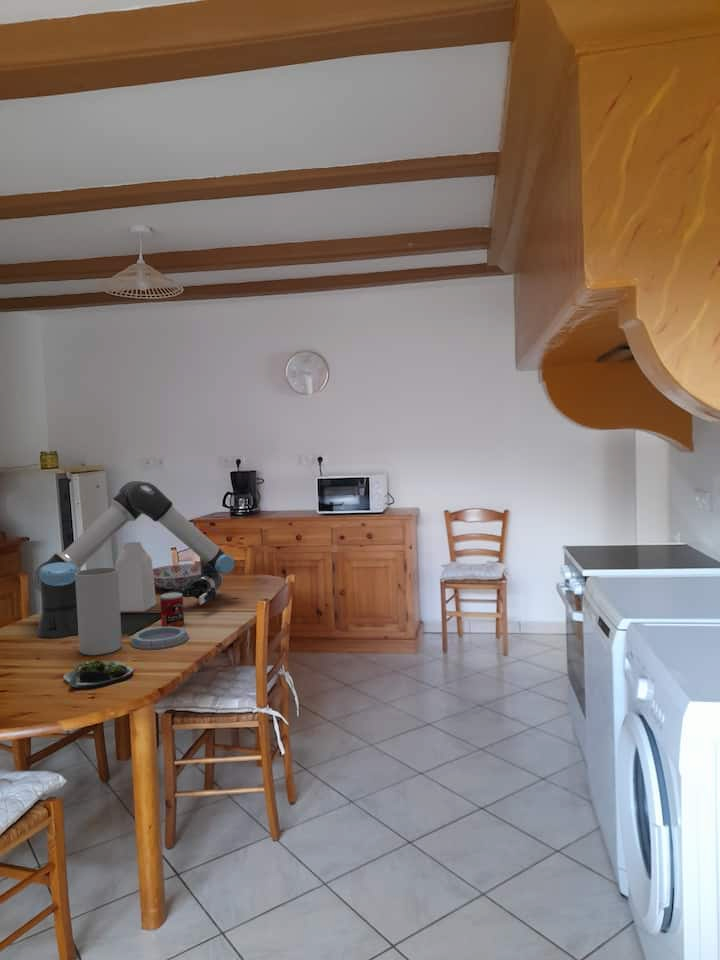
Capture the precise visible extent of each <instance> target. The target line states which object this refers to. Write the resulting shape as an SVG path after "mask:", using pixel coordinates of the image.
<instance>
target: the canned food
mask: <svg viewBox="0 0 720 960" xmlns="http://www.w3.org/2000/svg"><path fill="white" fill-rule="evenodd" d="M160 616H161V617H160V618H161V627H180V628H182V627H183V626H184V624H185V616H184V597H183V594H182V593H166V594H164V593H163V594H160Z"/></svg>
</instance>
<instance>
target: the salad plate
mask: <svg viewBox="0 0 720 960" xmlns="http://www.w3.org/2000/svg"><path fill="white" fill-rule="evenodd" d="M133 674H134V668H132V667H131V666H128V665H127V664H126V665H125V664H124V663H122V662H121V661H106V662H103V661H101V660H98V659H96V660H93V661H91V662H89V661H85V662H84V663H79V664H77V665H76V666H75V669H74V670H71V671H68V672H66V673H65V674H64V675H63V679H64V681H66V682H67V683H68V684H69V685H68V686H69V687H70V688H71V687H72V688H76V689H78V690H92V689H98V688H103V687H107V686H110V685H114V684H117V683H120V682H123V681H125V680H128V679H129V678H130V677H132V675H133Z"/></svg>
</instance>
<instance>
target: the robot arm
mask: <svg viewBox="0 0 720 960" xmlns="http://www.w3.org/2000/svg"><path fill="white" fill-rule="evenodd" d="M142 514H143V515H144V516H147V517H148V518H150V519H151V520H152V521H153V522H155V523H157V522H158V523H160V524H161V525H162V526H163V527H164V528H166V529H167V530H168V531H169V532H170V533H172V535H173V536H175V537H176V539H178V540H179V541H181V542H182V543H183V544H184V545H185V546H187V547H188V548H189V549H190V551H191V550H192V552H193V553H195V554H196V555H197V556H198V557H199V565H201V578H200V579H198V580H196V581H195V582H193V583H192V585H191V587H189V588H183V587H182V588H179V589H171V590H169V591H165V592H164V593H163V594H166V593H182V594H183V598H191V597H192V598H194V599H197V600H199V601H198V602H199V605H203V604H204V603H205V602H207V601H208V600H212V599H213V600H217V590H218V589H220V587H221V586H222V585H223V581H224V580H223V576H222V574H225V575H226V574H228V573H231V572H232V570H233V569H234V567H235V560H234V558H233V556H231V555H230V554H227V553H225V552H224V551H223V550H222V549H221V548H219V546H218V544H215V543H214V542H213V541H212V540H211V539H210V538H208V537H207V535H205V534H204V533H203V532H202V531H201V530H200V529H199V528H197V527H196V526H195V525H194V524H193V523H192V522H191V521H190V520H189V519H187V518H186V517H185V516H184V515H183V513H180V511H178V510H177V509H176V508H175V507H174V503H173V502H172V501H171V500H170V499H169V498H168V497H167V496H166V495H165V494H164V493H163V492H162V491H161V490H160V489H159V488H158V487H157V486H156V485H154V484H152V483H151V482H146V481H140V480H132V481H129V482H126V483H125V484H123V485H122V486H121V488H120V489H119V491H118V493H117V494H116V495H115V496H114V497H113V498H112V499H111V505H110V506H109V507H108V509H107V510H106V511H104V513H102V515H100V516H99V517H98V518H97V519H96V520H95V521H94V522H93V523H92V524H90V526H89V527H88V528H86V530H85V531H83V533H81V534H80V535H79V536H78V537H77V539H75V540H73V542H72V543H71V544H70V545H69V546H68V547H67V548H66V549H65V550H64V551H62V552H55V553H54V554H53V555H52V556H51V557H50V558H49V559H48V560H47V561H44V562H42V563H41V564H39V565H38V566H37V567H36V568H35V570H34V571H33V572H34V573H33V575H32V581H33V585H34V586H33V587H34V588H35V589H36V591H38V592H39V593H40V597H41V599H40V600H41V615H40V618H39V619H40V620H39V623H38V626H37V636H38V637H39V636H40V637H39V638H45V639H55V638H64V637H65V638H66V637H69V636H74V635H77V634H78V617H77V600H76V582H75V573H76V572H78V571H81V568H82V567H83V566H85V565H86V564H87V562H88V561H89V560H90V559H92V557H94V556H95V555H96V554H97V552H99V551H100V550H101V549H102V548H103V547H104V546H105V545H106V544H107V543H108V542H109V541H110V540H111V539H112V538H113V537H114V536H115V535H116V534H117V533H118V532H119V531H120V530H121V529H122V528H123V527H124V526H125V525H127V524H128V522H135V521H136V520H137V519H138V518H139V517H141V515H142ZM78 635H79V634H78Z"/></svg>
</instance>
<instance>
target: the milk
mask: <svg viewBox="0 0 720 960" xmlns="http://www.w3.org/2000/svg"><path fill="white" fill-rule="evenodd" d="M151 557H152V556H150V555H149V553H148V552H147V551H146V549H144V547H143V545H142V542H141V541H132V542H131V541H130V542H127V541H126V542H124V543H123V546H122V549H121V552H120V553H119V555H118V557H117V558H116V560H115V563H114V568H117V569H118V581H119V600H120V612H146V611H147V610H149V609H150V608H152V607H154V606H155V605H157V597H156V589H155V584H154V577H153V569H154V567H153V561H152V558H151Z"/></svg>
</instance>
